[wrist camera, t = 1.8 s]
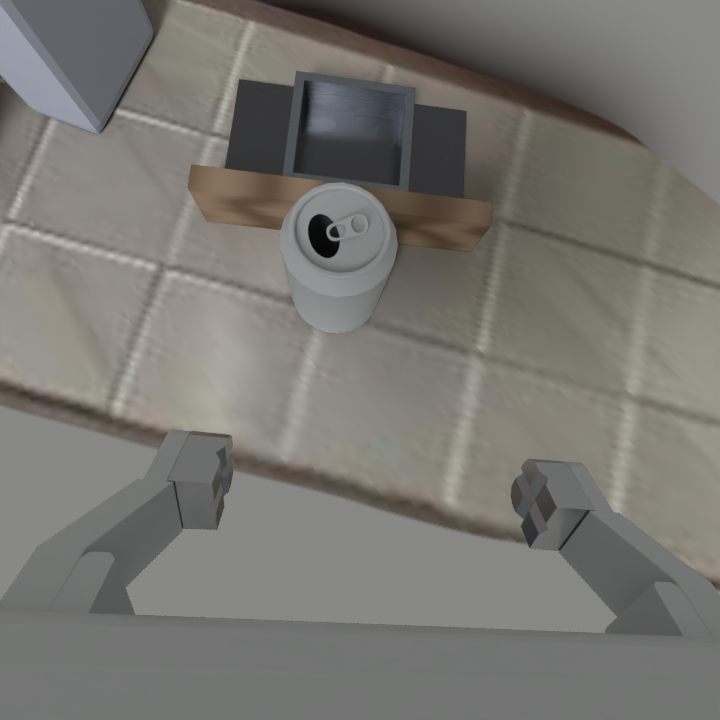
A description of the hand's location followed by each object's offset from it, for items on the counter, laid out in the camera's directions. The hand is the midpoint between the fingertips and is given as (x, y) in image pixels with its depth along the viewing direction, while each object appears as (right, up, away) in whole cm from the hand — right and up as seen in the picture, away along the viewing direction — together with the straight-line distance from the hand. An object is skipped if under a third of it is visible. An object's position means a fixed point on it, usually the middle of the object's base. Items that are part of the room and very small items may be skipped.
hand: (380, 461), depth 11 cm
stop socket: (-2, +22, +27) cm, 35 cm away
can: (-3, +9, +25) cm, 26 cm away
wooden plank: (-2, +15, +26) cm, 30 cm away
